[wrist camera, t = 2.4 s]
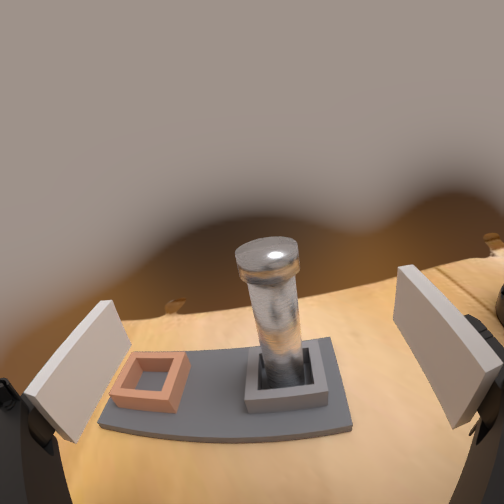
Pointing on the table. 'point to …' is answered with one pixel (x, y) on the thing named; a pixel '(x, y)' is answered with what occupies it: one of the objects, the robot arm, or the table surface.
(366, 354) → the table surface
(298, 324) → the pin
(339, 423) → the dock board
